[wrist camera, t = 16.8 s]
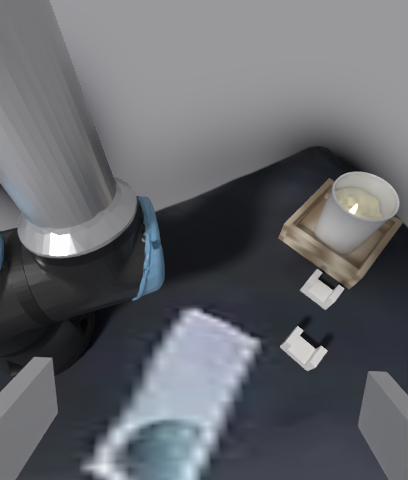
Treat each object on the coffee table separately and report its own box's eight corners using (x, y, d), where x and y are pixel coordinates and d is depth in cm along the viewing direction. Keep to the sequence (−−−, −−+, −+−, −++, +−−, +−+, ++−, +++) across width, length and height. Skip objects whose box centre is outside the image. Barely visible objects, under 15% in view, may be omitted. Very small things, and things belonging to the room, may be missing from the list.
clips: (264, 333, 46) (269, 326, 42) (309, 278, 51) (317, 268, 47) (307, 371, 43) (315, 367, 39) (350, 309, 48) (362, 301, 44)
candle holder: (356, 216, 56) (389, 172, 46) (368, 260, 51) (408, 222, 41) (305, 214, 57) (327, 170, 47) (312, 258, 52) (339, 219, 41)
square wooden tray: (278, 238, 55) (284, 223, 51) (320, 194, 60) (329, 178, 56) (349, 289, 49) (362, 278, 45) (388, 236, 55) (403, 221, 51)
